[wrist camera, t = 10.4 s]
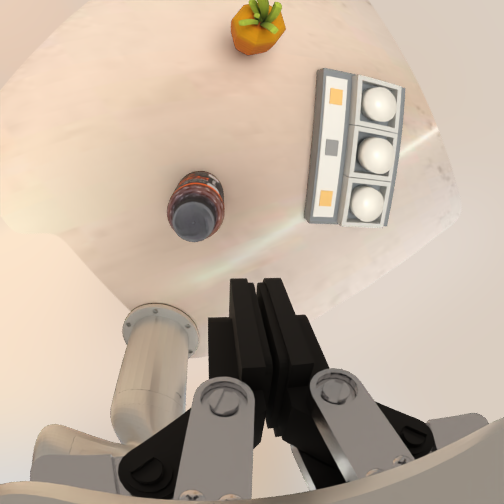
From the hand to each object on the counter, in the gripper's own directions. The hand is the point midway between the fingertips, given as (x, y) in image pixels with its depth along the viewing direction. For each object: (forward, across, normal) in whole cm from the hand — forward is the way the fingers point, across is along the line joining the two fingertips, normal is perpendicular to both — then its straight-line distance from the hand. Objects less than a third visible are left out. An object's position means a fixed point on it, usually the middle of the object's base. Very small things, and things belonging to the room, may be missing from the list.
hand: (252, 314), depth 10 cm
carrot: (+29, -2, -16) cm, 33 cm away
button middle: (+25, -18, -4) cm, 31 cm away
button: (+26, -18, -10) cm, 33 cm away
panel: (+29, -17, -4) cm, 34 cm away
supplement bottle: (+29, +3, +3) cm, 30 cm away
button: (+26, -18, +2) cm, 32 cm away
